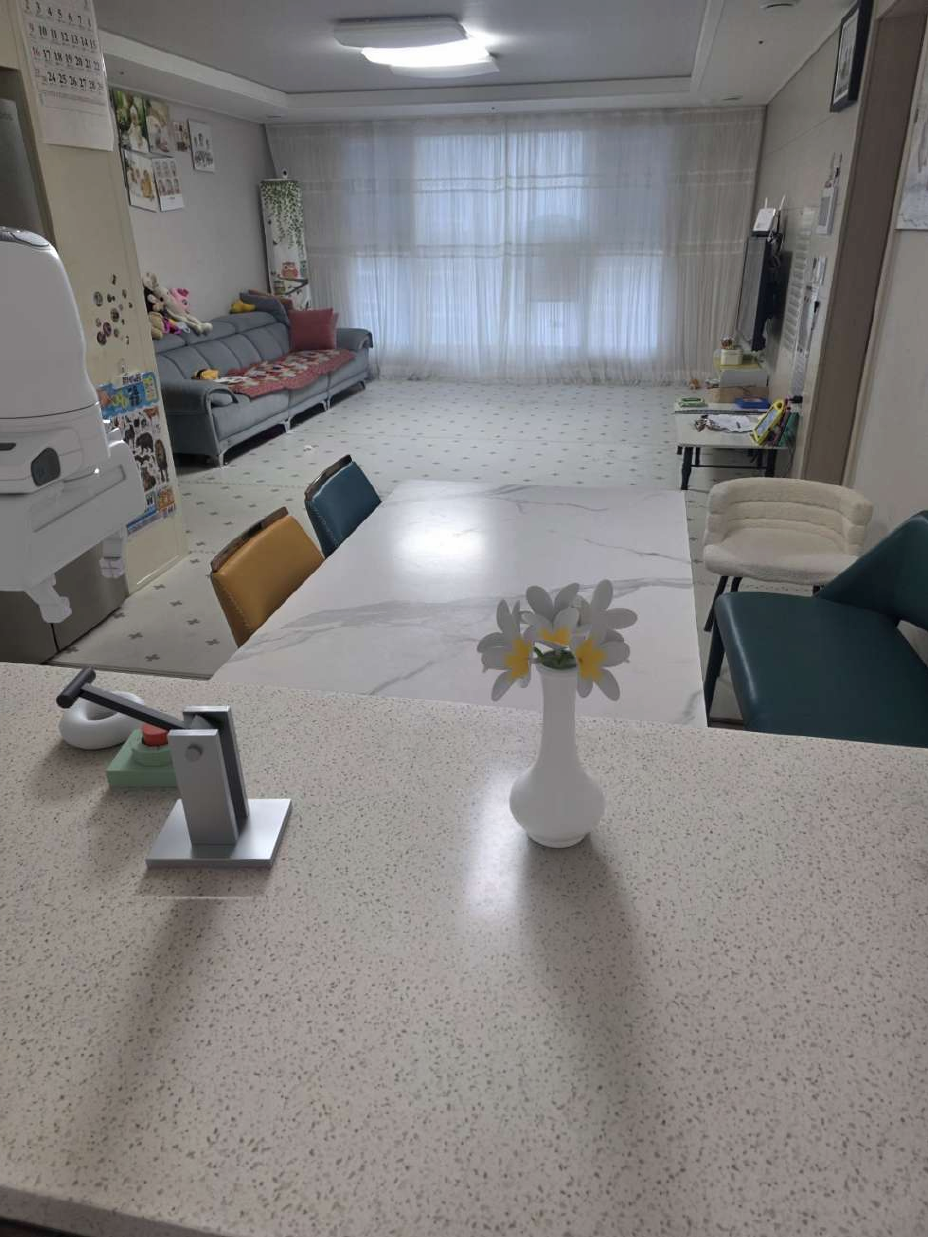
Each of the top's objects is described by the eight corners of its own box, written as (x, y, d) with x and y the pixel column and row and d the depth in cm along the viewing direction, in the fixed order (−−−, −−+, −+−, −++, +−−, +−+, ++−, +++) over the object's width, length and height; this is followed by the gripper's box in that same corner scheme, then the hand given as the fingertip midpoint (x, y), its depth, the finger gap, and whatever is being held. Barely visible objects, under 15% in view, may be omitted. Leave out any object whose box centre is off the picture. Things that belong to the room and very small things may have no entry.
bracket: (147, 869, 78) (115, 749, 72) (179, 807, 86) (153, 695, 80) (271, 869, 78) (250, 748, 72) (292, 807, 86) (275, 694, 80)
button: (139, 748, 90) (136, 734, 89) (151, 729, 93) (148, 716, 93) (171, 748, 90) (168, 734, 89) (182, 729, 93) (180, 716, 92)
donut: (168, 722, 101) (114, 700, 106) (163, 698, 100) (108, 677, 105) (99, 765, 94) (44, 740, 98) (92, 740, 92) (37, 715, 97)
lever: (52, 709, 73) (58, 688, 72) (78, 680, 77) (84, 660, 76) (204, 767, 75) (212, 748, 74) (221, 736, 80) (228, 717, 79)
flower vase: (635, 781, 88) (652, 565, 77) (598, 904, 73) (612, 655, 62) (519, 759, 92) (519, 550, 81) (460, 870, 77) (450, 631, 66)
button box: (109, 787, 90) (101, 757, 88) (138, 745, 97) (130, 716, 95) (199, 787, 89) (193, 756, 88) (221, 744, 97) (216, 715, 95)
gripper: (83, 414, 77) (115, 552, 83) (-73, 477, 59) (-17, 647, 65) (146, 414, 76) (174, 553, 82) (7, 477, 58) (56, 650, 64)
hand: (88, 596), depth 73 cm, fingers open, 8 cm apart
